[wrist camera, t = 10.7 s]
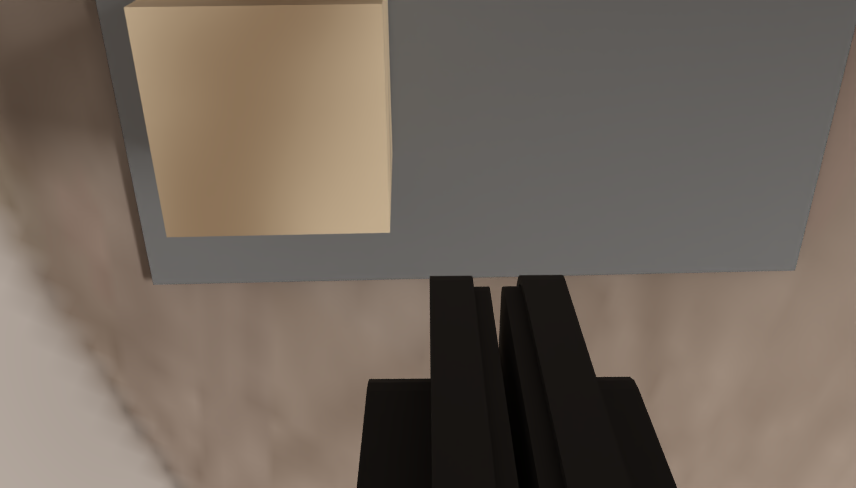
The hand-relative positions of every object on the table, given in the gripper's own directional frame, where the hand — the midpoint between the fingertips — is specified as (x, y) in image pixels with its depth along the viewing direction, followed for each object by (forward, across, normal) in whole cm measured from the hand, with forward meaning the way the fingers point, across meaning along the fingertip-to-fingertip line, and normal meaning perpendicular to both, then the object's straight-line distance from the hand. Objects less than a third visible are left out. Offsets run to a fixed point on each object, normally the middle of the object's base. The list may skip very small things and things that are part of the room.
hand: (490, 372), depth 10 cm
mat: (+17, -1, 0) cm, 17 cm away
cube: (+10, +5, 0) cm, 11 cm away
